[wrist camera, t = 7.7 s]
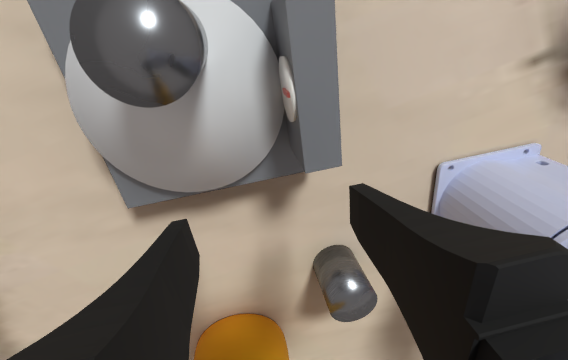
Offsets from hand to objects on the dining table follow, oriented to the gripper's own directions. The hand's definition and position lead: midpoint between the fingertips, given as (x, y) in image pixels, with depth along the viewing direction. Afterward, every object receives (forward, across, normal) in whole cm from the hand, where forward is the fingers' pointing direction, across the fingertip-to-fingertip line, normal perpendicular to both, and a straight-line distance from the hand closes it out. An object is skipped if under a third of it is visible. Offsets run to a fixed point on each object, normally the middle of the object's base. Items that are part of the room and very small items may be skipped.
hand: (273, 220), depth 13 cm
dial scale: (+9, +2, -4) cm, 11 cm away
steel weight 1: (+6, +3, -7) cm, 10 cm away
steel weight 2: (+9, -5, +13) cm, 17 cm away
